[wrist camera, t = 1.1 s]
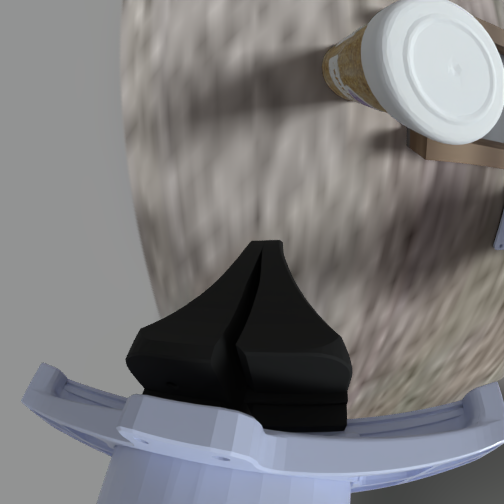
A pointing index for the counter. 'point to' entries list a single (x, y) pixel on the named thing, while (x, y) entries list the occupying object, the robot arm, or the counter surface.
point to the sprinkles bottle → (423, 70)
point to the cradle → (478, 152)
